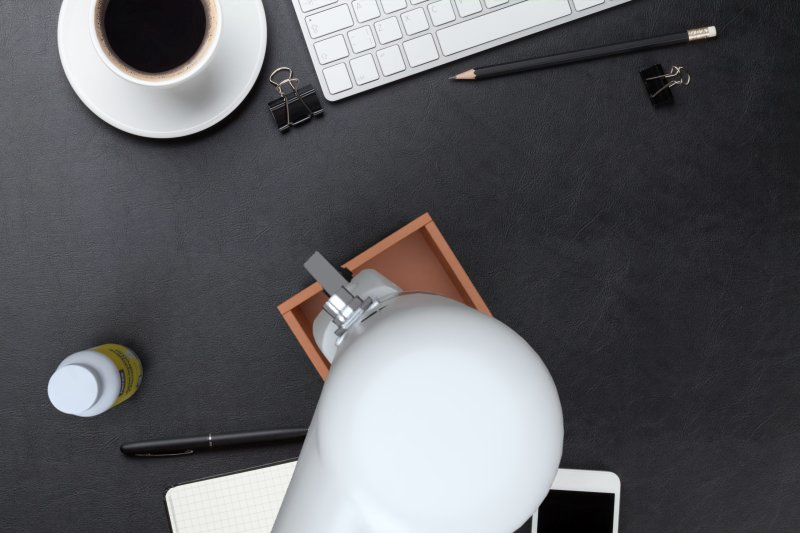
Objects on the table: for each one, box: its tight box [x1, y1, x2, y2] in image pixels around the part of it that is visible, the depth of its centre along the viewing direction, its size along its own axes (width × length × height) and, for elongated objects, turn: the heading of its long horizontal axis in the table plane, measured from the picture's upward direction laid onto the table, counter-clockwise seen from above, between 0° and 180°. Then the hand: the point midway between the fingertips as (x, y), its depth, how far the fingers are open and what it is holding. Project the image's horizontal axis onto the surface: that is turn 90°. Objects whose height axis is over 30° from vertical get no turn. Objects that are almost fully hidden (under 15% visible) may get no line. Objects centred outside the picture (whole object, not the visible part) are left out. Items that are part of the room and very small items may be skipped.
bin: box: [276, 211, 495, 383], centre depth 56 cm, size 12×12×7 cm
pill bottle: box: [47, 342, 144, 418], centre depth 77 cm, size 6×6×12 cm
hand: (400, 336), depth 51 cm, fingers closed on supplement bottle, 6 cm apart
